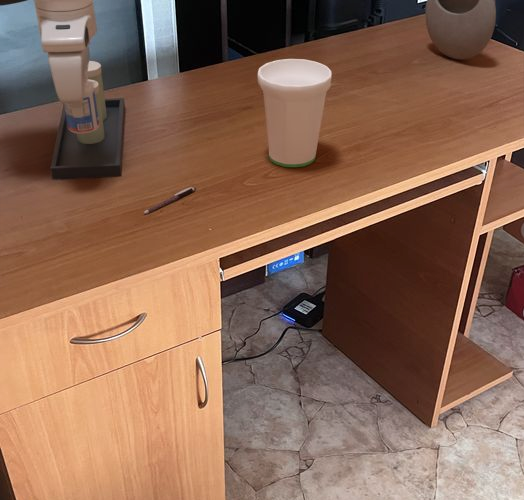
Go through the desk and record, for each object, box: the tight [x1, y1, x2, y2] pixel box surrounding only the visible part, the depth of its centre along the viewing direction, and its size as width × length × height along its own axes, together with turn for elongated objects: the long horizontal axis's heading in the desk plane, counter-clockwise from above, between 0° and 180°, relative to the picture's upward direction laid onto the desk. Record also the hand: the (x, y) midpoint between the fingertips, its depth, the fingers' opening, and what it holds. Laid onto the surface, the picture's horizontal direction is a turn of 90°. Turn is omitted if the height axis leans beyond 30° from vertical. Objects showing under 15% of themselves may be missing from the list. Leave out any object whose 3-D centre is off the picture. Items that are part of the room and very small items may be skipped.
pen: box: [142, 186, 197, 215], centre depth 128 cm, size 11×1×1 cm, turn 136°
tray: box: [49, 97, 126, 180], centre depth 144 cm, size 12×29×2 cm, turn 6°
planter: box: [425, 0, 497, 61], centre depth 172 cm, size 18×7×19 cm, turn 39°
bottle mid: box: [76, 79, 105, 144], centre depth 141 cm, size 5×5×10 cm
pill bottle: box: [62, 70, 99, 134], centre depth 131 cm, size 6×5×10 cm
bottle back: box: [87, 60, 107, 120], centre depth 148 cm, size 5×5×10 cm
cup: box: [257, 58, 333, 168], centre depth 136 cm, size 12×12×15 cm
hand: (80, 107), depth 132 cm, fingers closed on pill bottle, 5 cm apart
